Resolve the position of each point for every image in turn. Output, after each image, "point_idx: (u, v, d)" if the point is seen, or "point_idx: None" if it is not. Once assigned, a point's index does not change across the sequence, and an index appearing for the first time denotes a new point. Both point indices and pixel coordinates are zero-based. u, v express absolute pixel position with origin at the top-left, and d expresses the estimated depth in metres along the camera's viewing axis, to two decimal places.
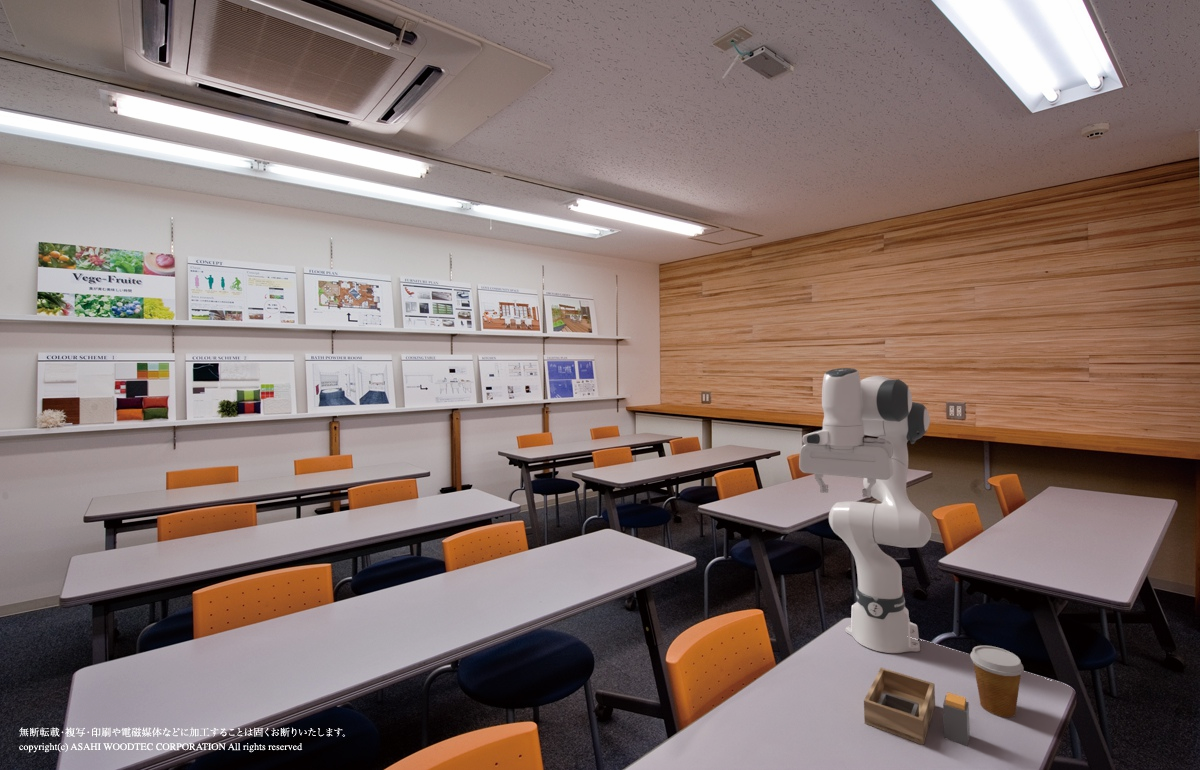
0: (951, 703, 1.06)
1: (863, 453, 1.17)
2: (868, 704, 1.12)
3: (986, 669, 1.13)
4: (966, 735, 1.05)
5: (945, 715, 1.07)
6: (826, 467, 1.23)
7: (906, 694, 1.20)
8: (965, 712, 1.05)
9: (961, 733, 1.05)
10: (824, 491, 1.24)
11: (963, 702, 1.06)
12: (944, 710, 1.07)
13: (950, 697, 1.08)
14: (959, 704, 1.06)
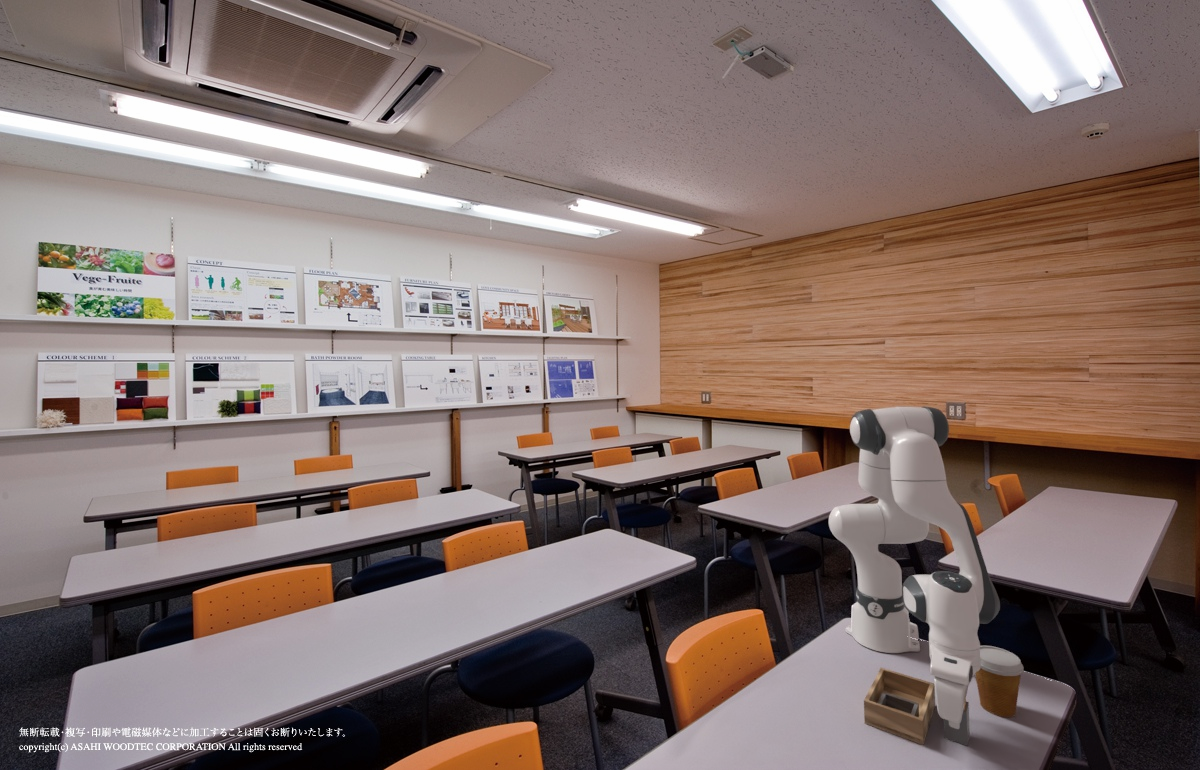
0: None
1: None
2: (868, 704, 1.12)
3: (986, 669, 1.13)
4: (966, 735, 1.05)
5: None
6: (964, 700, 1.03)
7: (906, 694, 1.20)
8: (965, 712, 1.05)
9: (961, 732, 1.05)
10: (959, 725, 1.05)
11: None
12: None
13: None
14: None
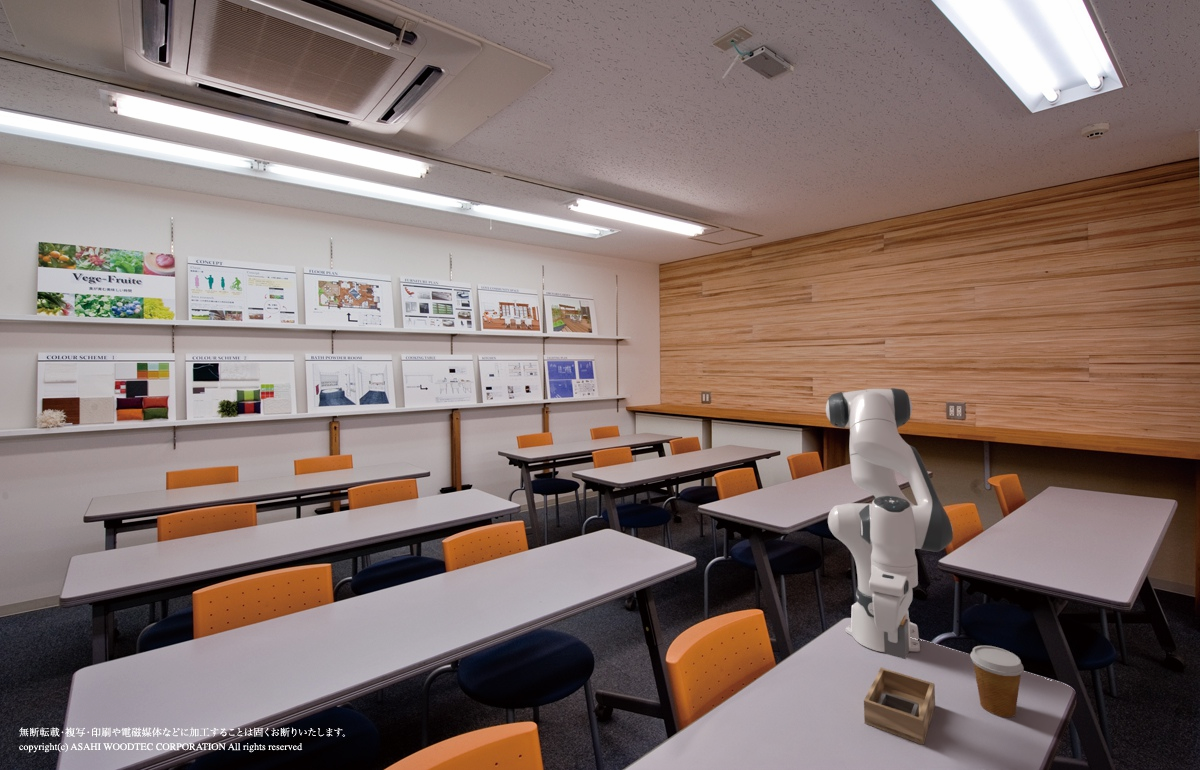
0: None
1: None
2: (868, 704, 1.12)
3: (986, 669, 1.13)
4: (904, 649, 1.10)
5: None
6: (901, 614, 1.08)
7: (906, 694, 1.20)
8: (903, 627, 1.10)
9: (900, 647, 1.10)
10: (898, 639, 1.10)
11: None
12: None
13: None
14: None
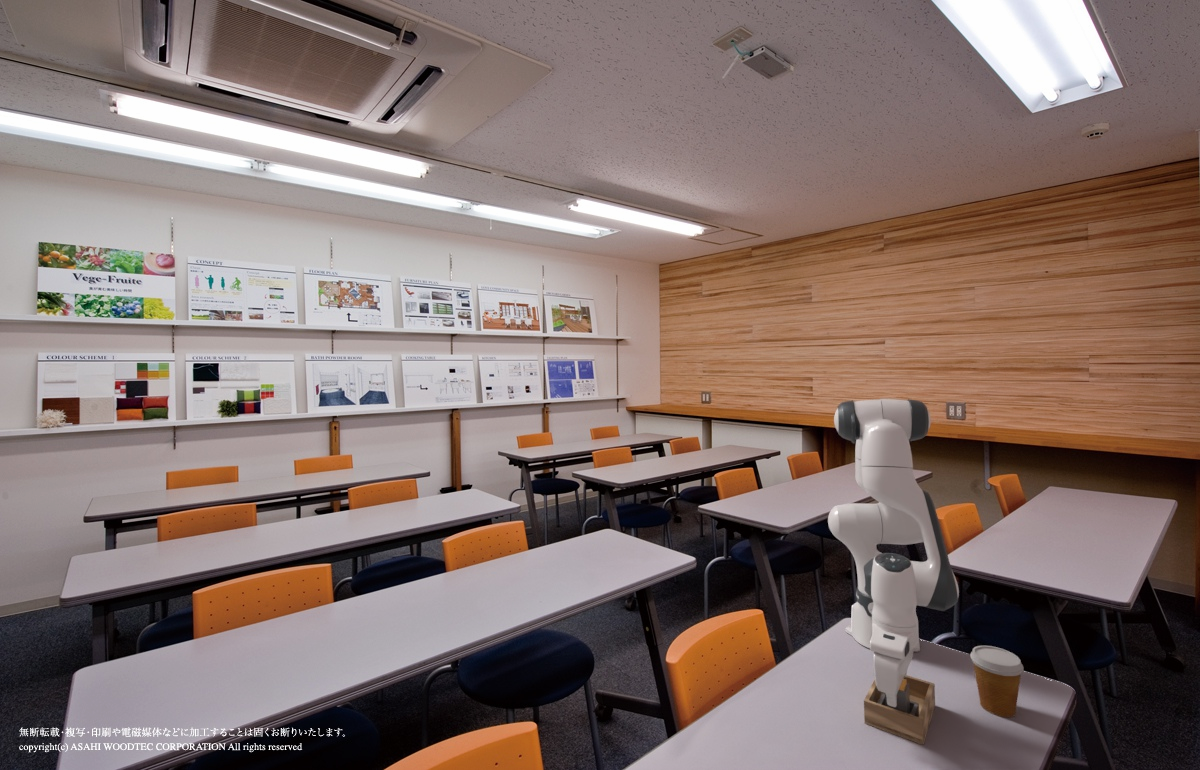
0: None
1: None
2: (868, 704, 1.12)
3: (986, 669, 1.13)
4: None
5: None
6: (902, 674, 1.09)
7: None
8: (904, 693, 1.10)
9: None
10: None
11: (903, 683, 1.11)
12: None
13: None
14: None
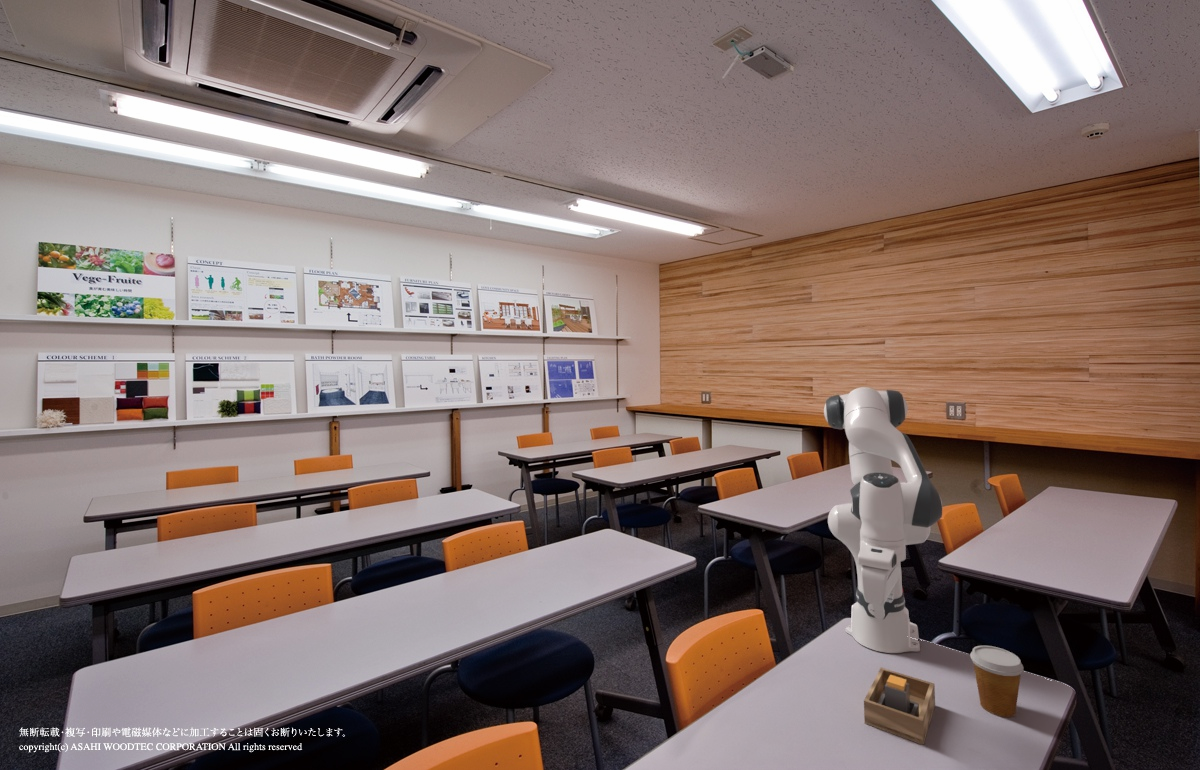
0: (892, 684, 1.12)
1: None
2: (868, 704, 1.12)
3: (986, 669, 1.13)
4: None
5: (886, 696, 1.12)
6: (889, 588, 1.10)
7: None
8: (904, 693, 1.10)
9: None
10: (884, 616, 1.10)
11: (903, 683, 1.11)
12: (885, 691, 1.12)
13: (891, 679, 1.13)
14: (899, 685, 1.11)
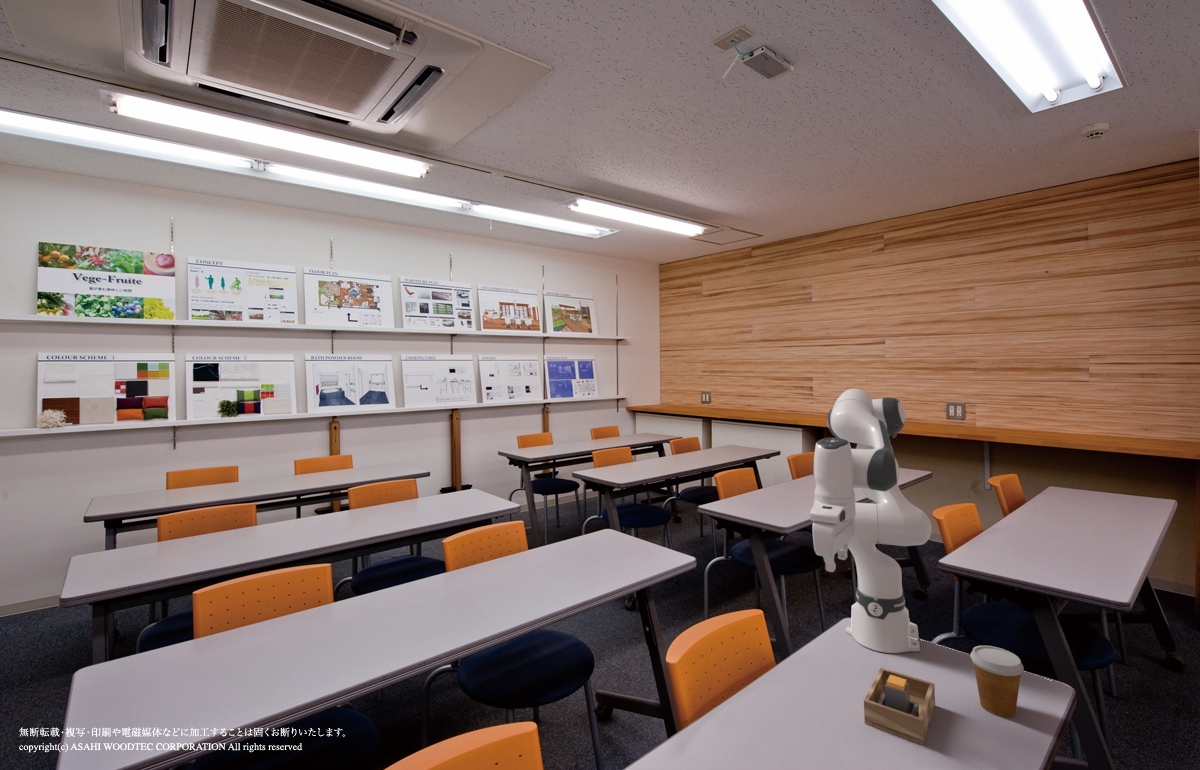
0: (892, 684, 1.12)
1: None
2: (868, 704, 1.12)
3: (986, 669, 1.13)
4: None
5: (886, 696, 1.12)
6: (839, 543, 1.19)
7: None
8: (904, 693, 1.10)
9: None
10: (834, 569, 1.19)
11: (903, 683, 1.11)
12: (885, 691, 1.12)
13: (891, 679, 1.13)
14: (899, 685, 1.11)
